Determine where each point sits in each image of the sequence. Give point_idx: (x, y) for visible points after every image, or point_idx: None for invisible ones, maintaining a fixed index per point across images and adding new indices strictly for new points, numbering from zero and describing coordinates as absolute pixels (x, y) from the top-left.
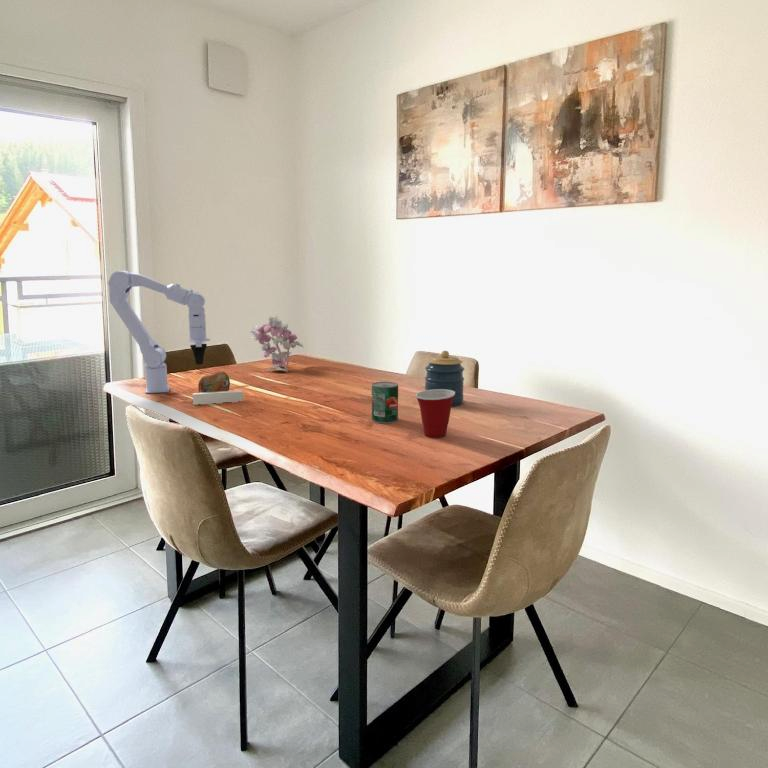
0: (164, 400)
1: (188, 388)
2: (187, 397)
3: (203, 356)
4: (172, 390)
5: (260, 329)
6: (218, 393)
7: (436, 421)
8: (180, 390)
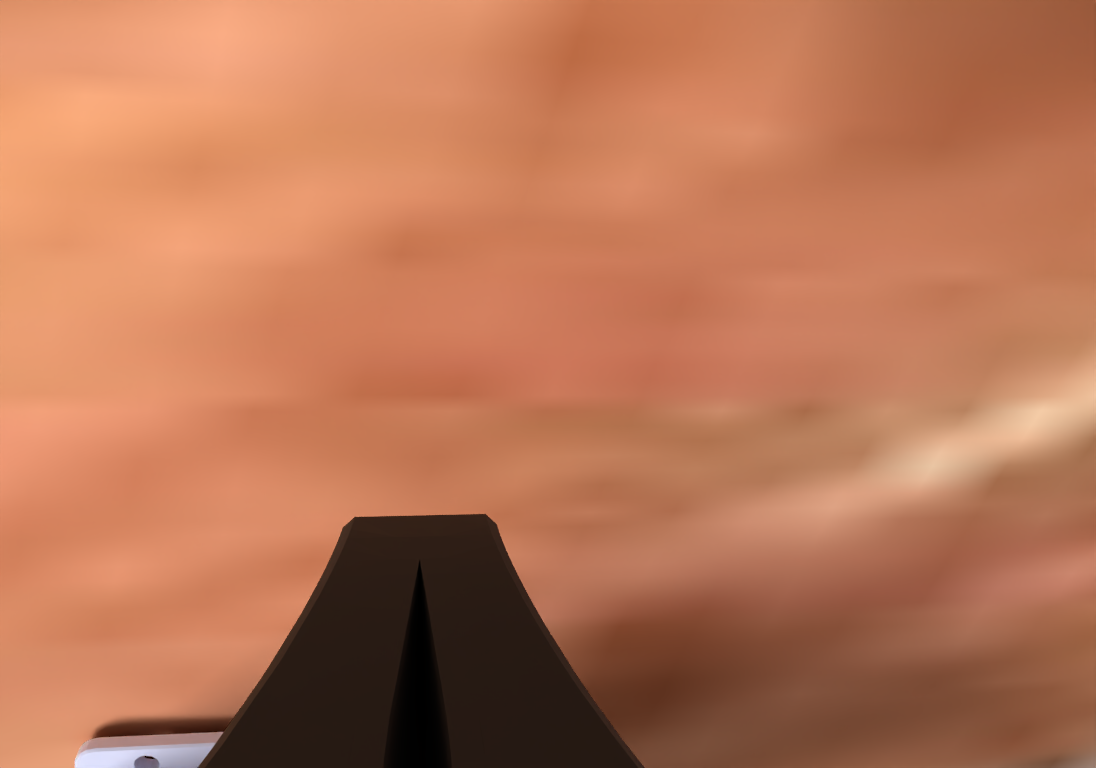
0: (1029, 721)
1: (241, 463)
2: (1005, 468)
3: (588, 706)
4: None
5: None
6: None
7: None
8: None
